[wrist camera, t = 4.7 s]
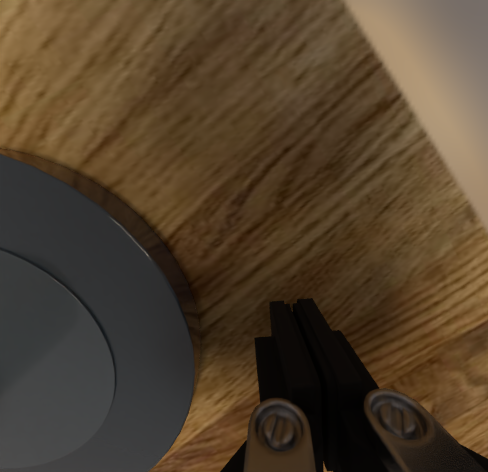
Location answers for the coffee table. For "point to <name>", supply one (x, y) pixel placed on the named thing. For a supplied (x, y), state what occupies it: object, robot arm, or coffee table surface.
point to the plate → (87, 327)
